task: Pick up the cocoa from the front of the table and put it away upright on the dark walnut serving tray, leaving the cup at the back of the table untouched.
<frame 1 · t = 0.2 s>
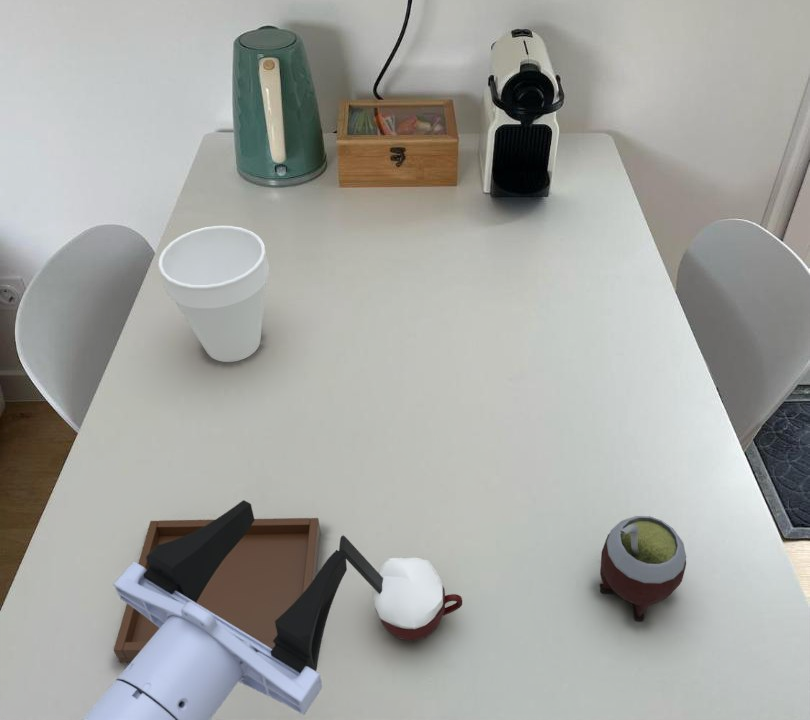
hand: (294, 534, 55), 21 cm above the table, tool horizontal, fingers open, 7 cm apart
mate gourd: (631, 596, 74), on the table
cup: (233, 344, 102), on the table
cocoa: (406, 618, 74), on the table
tray: (226, 592, 76), on the table
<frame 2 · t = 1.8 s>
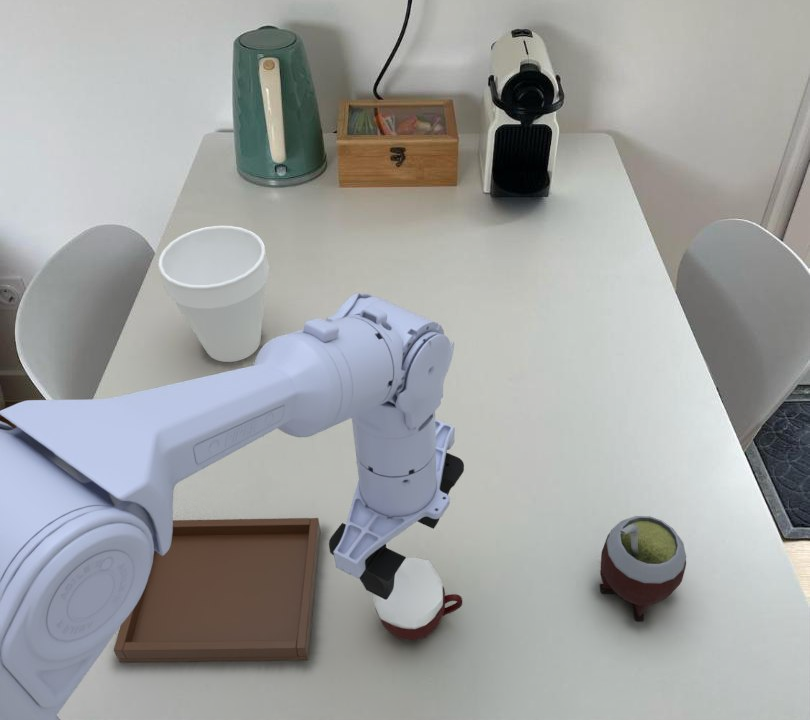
hand: (402, 555, 67), 10 cm above the table, tool pointing down, fingers open, 7 cm apart
nothing on the table moved.
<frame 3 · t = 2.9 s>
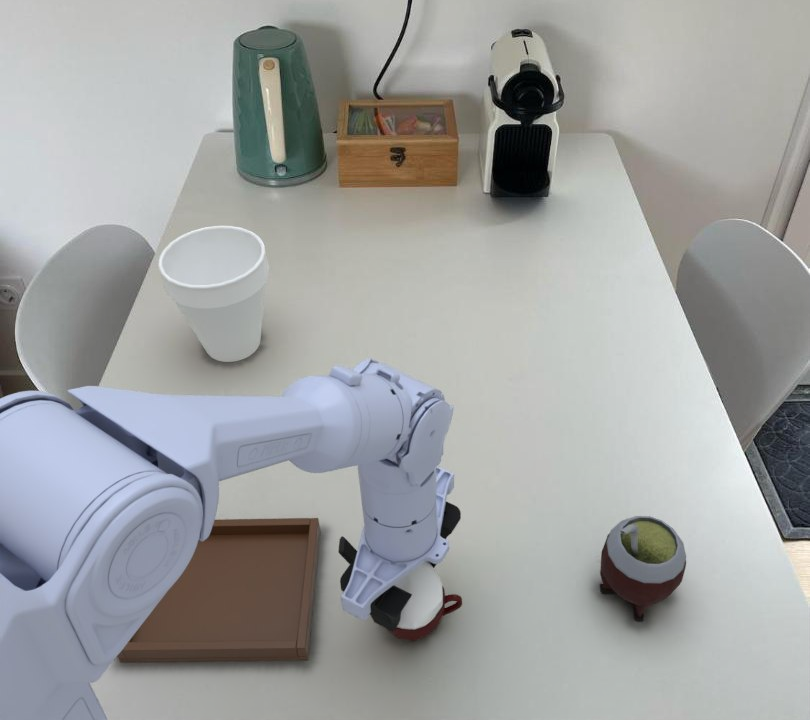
hand: (405, 593, 71), 4 cm above the table, tool pointing down, fingers closed on cocoa, 6 cm apart
cocoa: (406, 618, 74), on the table, touching gripper
everything else where it was.
when the fingers open (5 cm above the table, at t = 8.0 s): cocoa stays where it is, resting on tray.
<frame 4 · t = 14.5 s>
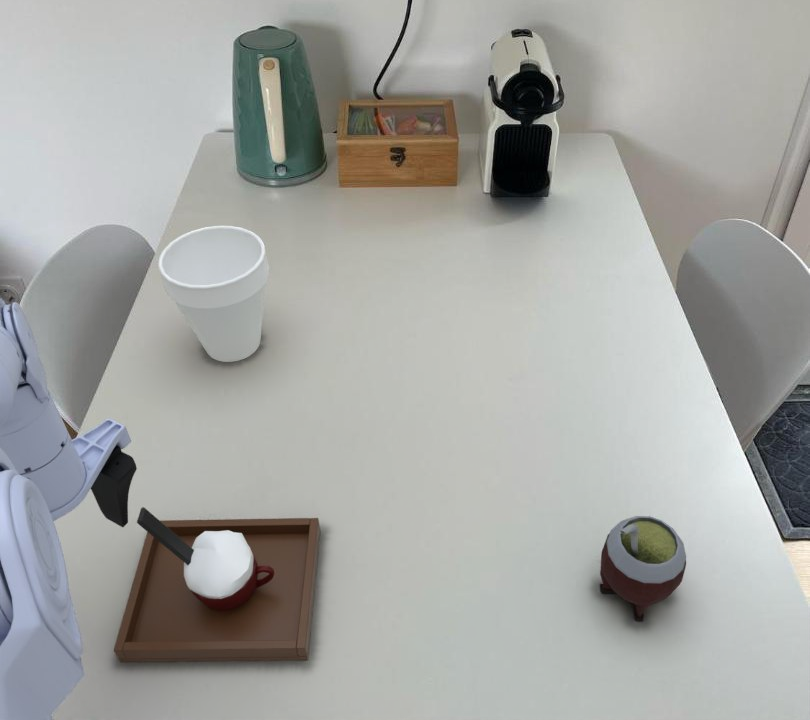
hand: (83, 553, 67), 10 cm above the table, tool pointing down, fingers open, 7 cm apart
cocoa: (225, 590, 76), resting on tray
everything else where it was.
at the end: cocoa inside the target area in the tray (0.1 cm from its centre), point 0.4 cm above the tray's base; cocoa tilted 0°; cup moved 0.2 cm from its start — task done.
